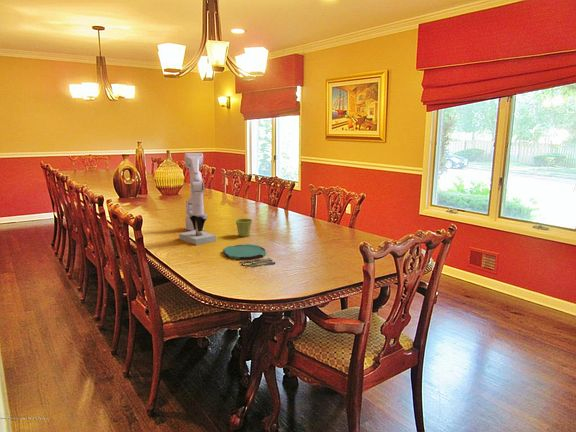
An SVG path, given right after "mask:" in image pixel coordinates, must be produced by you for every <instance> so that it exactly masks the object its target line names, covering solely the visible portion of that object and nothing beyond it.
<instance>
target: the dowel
mask: <svg viewBox="0 0 576 432" xmlns="http://www.w3.org/2000/svg"><path fill="white" fill-rule="evenodd" d="M202 231H203V230H202ZM202 231H198V226H197V222H196V236H201V235H202Z"/></svg>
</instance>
